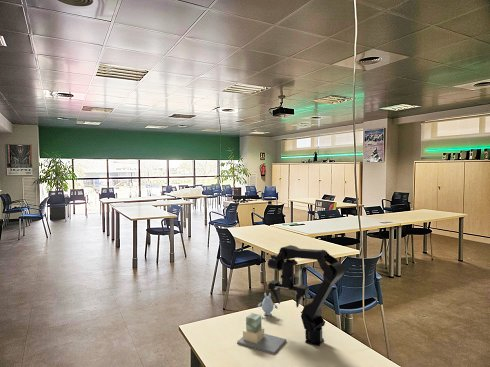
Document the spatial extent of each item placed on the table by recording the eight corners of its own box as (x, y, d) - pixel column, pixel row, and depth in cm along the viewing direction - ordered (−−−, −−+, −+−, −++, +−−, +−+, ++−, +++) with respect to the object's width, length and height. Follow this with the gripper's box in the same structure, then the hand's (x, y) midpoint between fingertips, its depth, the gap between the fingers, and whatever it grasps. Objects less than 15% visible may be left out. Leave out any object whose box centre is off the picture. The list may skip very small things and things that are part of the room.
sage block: (261, 328, 151) (261, 315, 151) (256, 332, 147) (255, 319, 146) (251, 325, 154) (251, 312, 153) (246, 330, 149) (246, 317, 149)
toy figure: (278, 313, 177) (278, 291, 177) (276, 318, 171) (276, 295, 171) (259, 311, 180) (258, 289, 180) (256, 316, 174) (256, 294, 174)
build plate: (286, 341, 149) (285, 330, 149) (274, 354, 138) (274, 342, 138) (250, 332, 158) (250, 321, 158) (237, 343, 148) (237, 332, 147)
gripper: (312, 270, 160) (313, 303, 161) (277, 265, 169) (277, 296, 170) (304, 277, 150) (304, 311, 151) (267, 271, 160) (267, 303, 161)
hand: (288, 305), depth 158 cm, fingers open, 9 cm apart
